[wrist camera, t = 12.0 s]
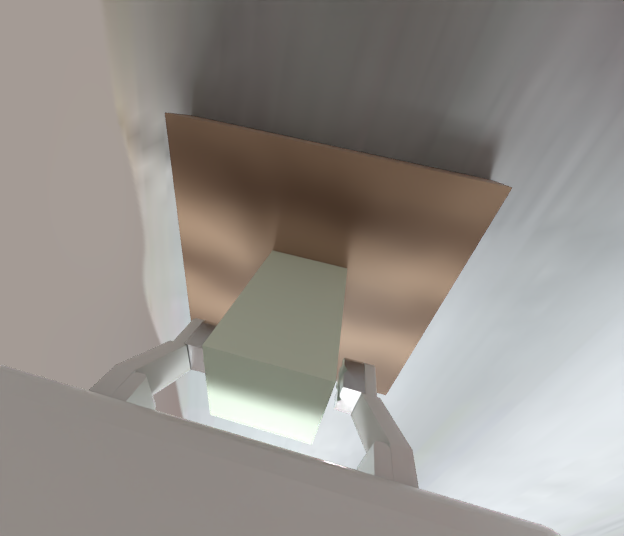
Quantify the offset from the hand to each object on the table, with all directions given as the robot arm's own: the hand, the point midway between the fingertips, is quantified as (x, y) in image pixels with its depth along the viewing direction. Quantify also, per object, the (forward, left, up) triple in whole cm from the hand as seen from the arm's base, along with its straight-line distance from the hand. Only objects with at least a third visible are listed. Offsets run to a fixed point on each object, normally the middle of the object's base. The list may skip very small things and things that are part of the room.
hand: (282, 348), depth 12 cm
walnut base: (0, 0, -8) cm, 8 cm away
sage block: (0, 0, -5) cm, 5 cm away
